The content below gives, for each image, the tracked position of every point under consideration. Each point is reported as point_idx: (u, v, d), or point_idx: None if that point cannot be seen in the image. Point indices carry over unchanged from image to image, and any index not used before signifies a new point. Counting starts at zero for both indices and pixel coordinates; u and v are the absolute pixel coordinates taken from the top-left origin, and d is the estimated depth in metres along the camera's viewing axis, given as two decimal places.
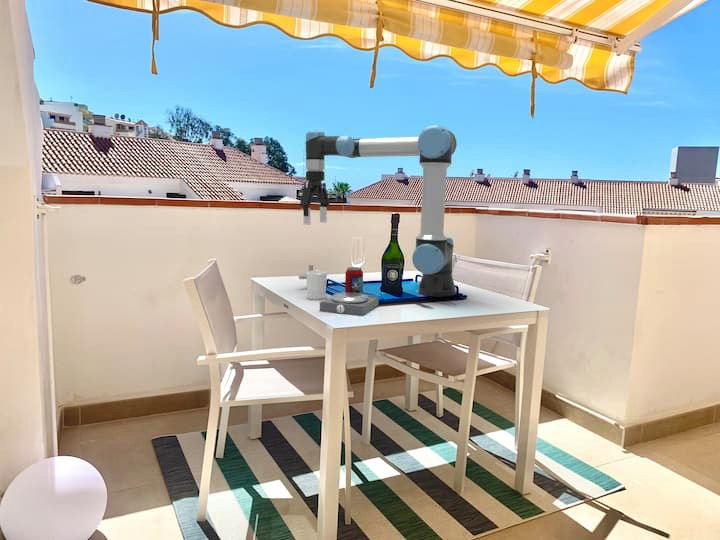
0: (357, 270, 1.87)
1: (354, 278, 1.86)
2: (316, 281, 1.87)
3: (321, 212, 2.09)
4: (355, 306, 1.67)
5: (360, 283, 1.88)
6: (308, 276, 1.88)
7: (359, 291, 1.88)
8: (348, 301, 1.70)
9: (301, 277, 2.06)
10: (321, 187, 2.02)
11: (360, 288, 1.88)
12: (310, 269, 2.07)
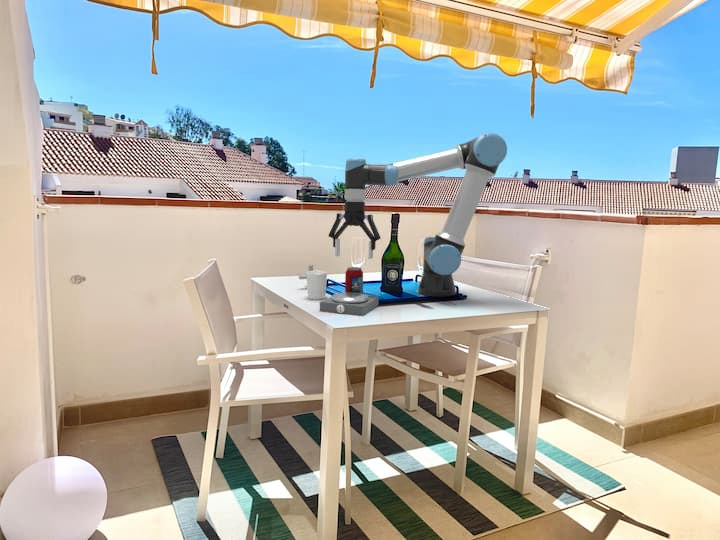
0: (357, 270, 1.87)
1: (354, 278, 1.86)
2: (316, 281, 1.87)
3: None
4: (355, 306, 1.67)
5: (360, 283, 1.88)
6: (308, 276, 1.88)
7: (359, 291, 1.88)
8: (348, 301, 1.70)
9: (301, 277, 2.06)
10: (357, 219, 1.83)
11: (360, 288, 1.88)
12: (310, 269, 2.07)
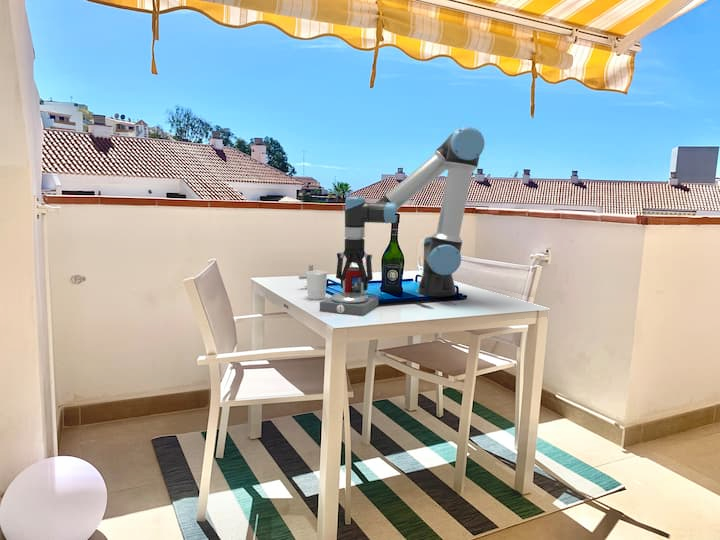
0: (357, 270, 1.87)
1: (354, 278, 1.86)
2: (316, 281, 1.87)
3: None
4: (355, 306, 1.67)
5: (360, 283, 1.88)
6: (308, 276, 1.88)
7: (359, 291, 1.88)
8: (348, 301, 1.70)
9: (301, 277, 2.06)
10: (356, 256, 1.86)
11: (360, 288, 1.88)
12: (310, 269, 2.07)
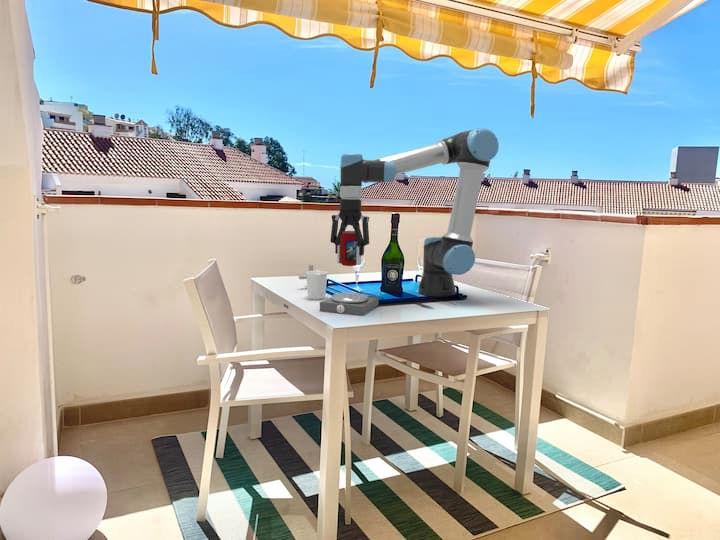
0: (353, 233, 1.73)
1: (350, 241, 1.72)
2: (316, 281, 1.87)
3: None
4: (355, 306, 1.67)
5: (356, 247, 1.74)
6: (308, 276, 1.88)
7: (354, 256, 1.74)
8: (348, 301, 1.70)
9: (301, 277, 2.06)
10: (352, 218, 1.72)
11: (356, 253, 1.74)
12: (310, 269, 2.07)
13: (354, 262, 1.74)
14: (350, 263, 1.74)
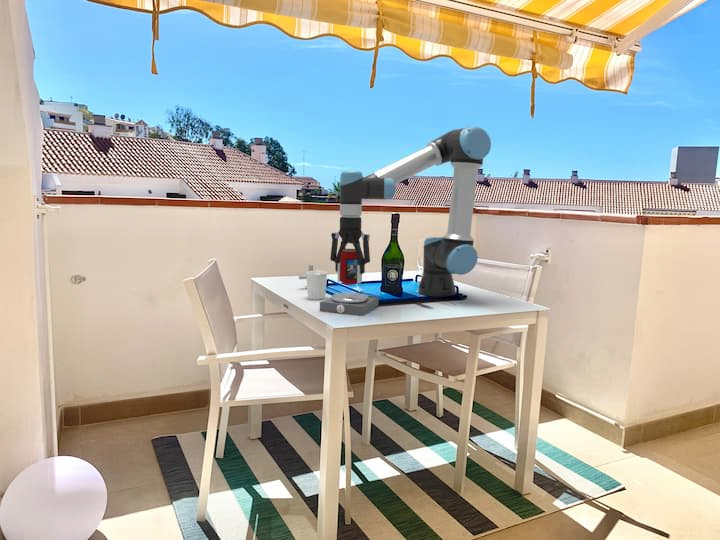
0: (353, 251, 1.71)
1: (350, 260, 1.70)
2: (316, 281, 1.87)
3: None
4: (355, 306, 1.67)
5: (356, 266, 1.72)
6: (308, 276, 1.88)
7: (355, 274, 1.72)
8: (348, 301, 1.70)
9: (301, 277, 2.06)
10: (352, 236, 1.70)
11: (356, 271, 1.72)
12: (310, 269, 2.07)
13: (355, 280, 1.72)
14: (351, 281, 1.72)
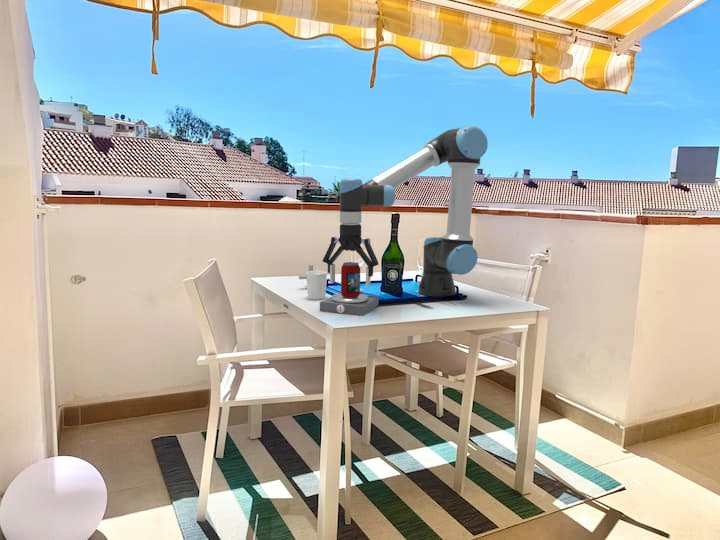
0: (354, 265, 1.72)
1: (351, 274, 1.71)
2: (316, 281, 1.87)
3: None
4: (355, 306, 1.67)
5: (357, 279, 1.73)
6: (308, 276, 1.88)
7: (356, 288, 1.73)
8: (348, 301, 1.70)
9: (301, 277, 2.06)
10: (353, 243, 1.70)
11: (357, 285, 1.73)
12: (310, 269, 2.07)
13: (356, 294, 1.73)
14: (352, 295, 1.73)
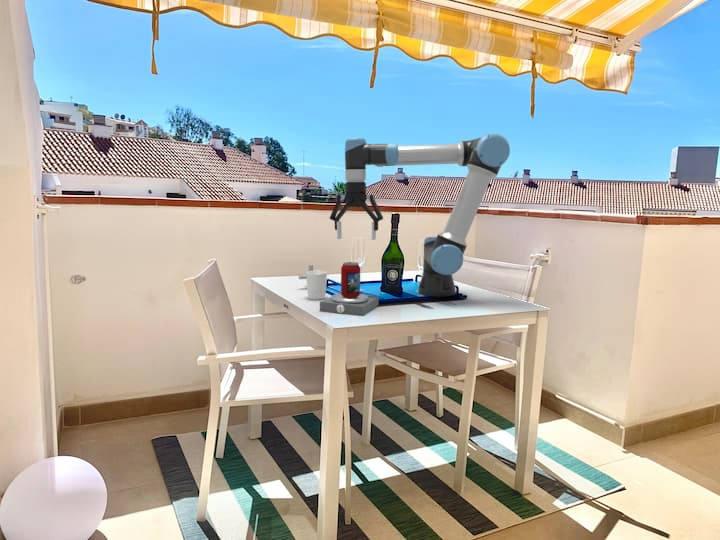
0: (354, 265, 1.72)
1: (351, 274, 1.71)
2: (316, 281, 1.87)
3: None
4: (355, 306, 1.67)
5: (357, 279, 1.73)
6: (308, 276, 1.88)
7: (356, 288, 1.73)
8: (348, 301, 1.70)
9: (301, 277, 2.06)
10: (358, 199, 1.81)
11: (357, 285, 1.73)
12: (310, 269, 2.07)
13: (355, 294, 1.73)
14: (352, 295, 1.73)
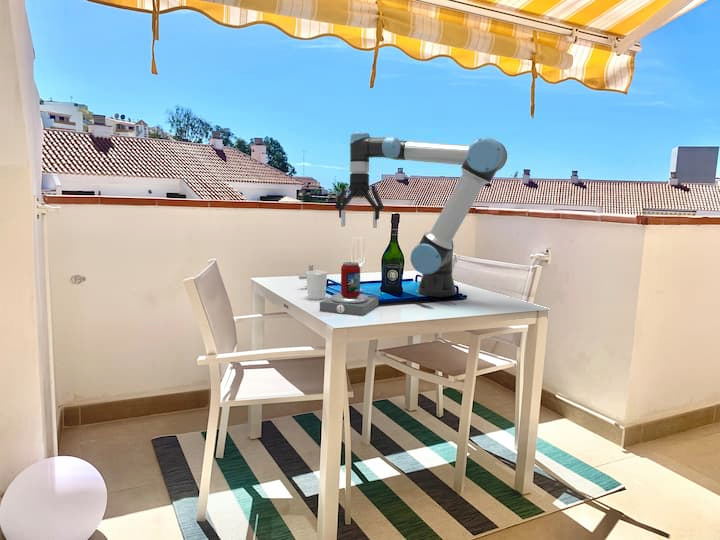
0: (354, 265, 1.72)
1: (351, 274, 1.71)
2: (316, 281, 1.87)
3: None
4: (355, 306, 1.67)
5: (357, 279, 1.73)
6: (308, 276, 1.88)
7: (356, 288, 1.73)
8: (348, 301, 1.70)
9: (301, 277, 2.06)
10: (361, 190, 1.94)
11: (357, 285, 1.73)
12: (310, 269, 2.07)
13: (355, 294, 1.73)
14: (352, 295, 1.73)
